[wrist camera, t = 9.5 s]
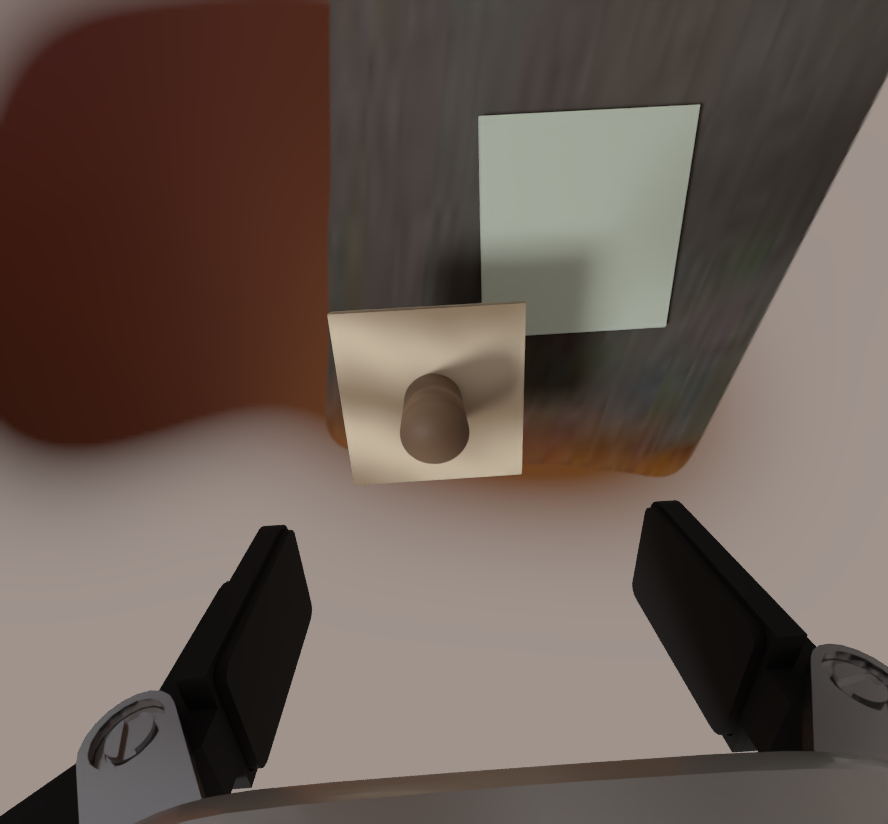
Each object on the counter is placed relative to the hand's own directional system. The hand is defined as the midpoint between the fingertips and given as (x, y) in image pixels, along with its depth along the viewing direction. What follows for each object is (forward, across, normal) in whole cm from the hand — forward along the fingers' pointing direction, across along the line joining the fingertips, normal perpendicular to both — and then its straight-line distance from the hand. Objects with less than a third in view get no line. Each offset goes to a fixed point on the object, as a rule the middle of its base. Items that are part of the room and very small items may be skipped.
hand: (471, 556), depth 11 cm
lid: (+15, +1, +1) cm, 15 cm away
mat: (+22, -10, -8) cm, 26 cm away
